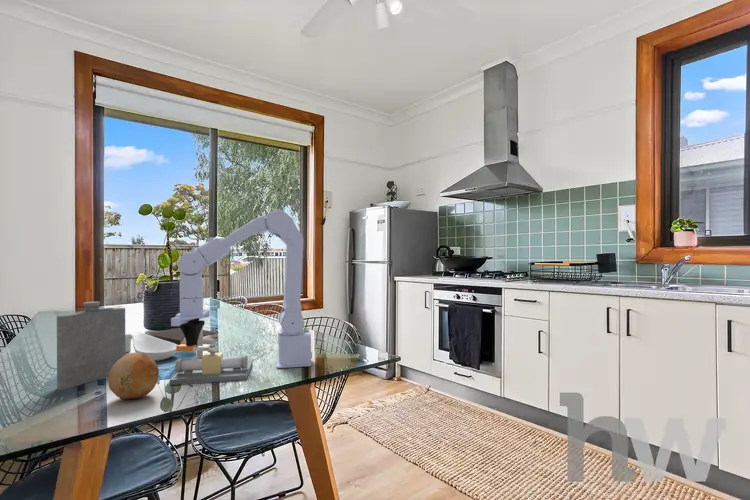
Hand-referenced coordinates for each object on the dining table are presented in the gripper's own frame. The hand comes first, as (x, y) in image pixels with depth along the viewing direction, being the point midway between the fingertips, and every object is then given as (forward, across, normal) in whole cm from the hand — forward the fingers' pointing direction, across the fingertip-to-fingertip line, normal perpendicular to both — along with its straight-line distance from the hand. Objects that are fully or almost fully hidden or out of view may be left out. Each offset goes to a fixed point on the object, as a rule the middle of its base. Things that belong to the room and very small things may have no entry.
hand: (191, 348), depth 107 cm
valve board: (+7, 0, +6) cm, 9 cm away
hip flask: (+7, +8, -23) cm, 25 cm away
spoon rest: (+7, -15, -26) cm, 31 cm away
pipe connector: (+7, -16, -7) cm, 19 cm away
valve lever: (0, +1, +2) cm, 3 cm away
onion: (+7, +18, -2) cm, 20 cm away
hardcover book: (+8, -43, -32) cm, 54 cm away
